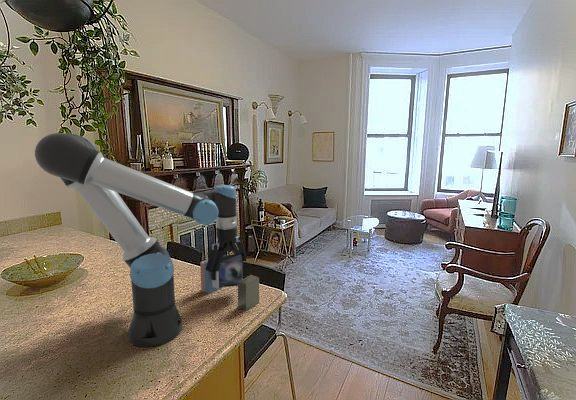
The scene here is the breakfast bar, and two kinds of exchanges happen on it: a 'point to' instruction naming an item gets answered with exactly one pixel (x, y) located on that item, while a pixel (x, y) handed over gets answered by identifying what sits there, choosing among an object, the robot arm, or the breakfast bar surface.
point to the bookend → (248, 292)
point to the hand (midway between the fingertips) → (227, 281)
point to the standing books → (206, 279)
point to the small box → (230, 270)
